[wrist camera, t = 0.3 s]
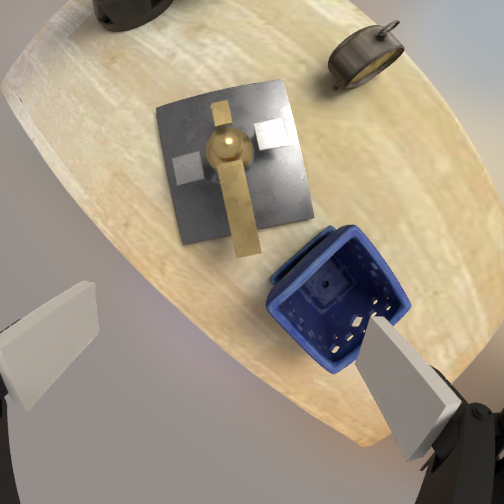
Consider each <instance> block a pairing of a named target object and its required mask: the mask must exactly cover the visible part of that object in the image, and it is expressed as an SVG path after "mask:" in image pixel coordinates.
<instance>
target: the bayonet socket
mask: <svg viewBox="0 0 504 504" xmlns="http://www.w3.org/2000/svg"><path fill="white" fill-rule="evenodd" d="M224 100H228V104H229V109H230V113H231V118H232V123H233V125H228V126H224V127H229V128H235V129H238V130H241V131H242V132H244V133H245V134H246V135H247V136H248V137H249V139H250V141H251V143H252V147H253V154H252V159H251V162H250V163H249V165H248V166H247V167H246V168H245V169H244V171H245V175H246V180H247V185H248V189H249V194H250V199H251V204H252V208H253V213H254V218H255V223H256V228H257V229H261V228H266V227H271V226H276V225H281V224H286V223H291V222H296V221H301V220H306V219H311V218H314V213H313V208H312V202H311V197H310V192H309V187H308V182H307V177H306V172H305V167H304V163H303V158H302V153H301V149H300V145H299V140H298V136H297V132H296V128H295V123H294V119H293V115H292V111H291V108H290V104H289V100H288V96H287V92H286V89H285V85H284V82H283V79H280V80H273V81H266V82H259V83H253V84H247V85H242V86H237V87H232V88H227V89H222V90H218V91H214V92H209V93H205V94H201V95H197V96H194V97H190V98H186V99H183V100H179V101H176V102H173V103H169V104H166V105H163V106H160V107H157V108H156V111H157V118H158V124H159V130H160V136H161V142H162V148H163V153H164V158H165V164H166V169H167V174H168V179H169V184H170V189H171V193H172V198H173V203H174V207H175V212H176V216H177V221H178V225H179V229H180V233H181V237H182V242H183V245H186V244H190V243H195V242H199V241H204V240H209V239H213V238H218V237H223V236H227V235H232V234H231V230H230V225H229V221H228V216H227V212H226V207H225V202H224V198H223V193H222V188H221V184H220V179H219V174H218V171H217V170H216V169H214V168H213V167H212V166H211V165H210V164H209V162H208V160H207V157H206V145H207V142H208V140H209V138H210V136H211V135H212V133H213V132H214V131H215V130H217V129H219V128H222V127H219V128H216V127H215V122H214V117H213V112H212V108H211V103H216V102H220V101H224Z"/></svg>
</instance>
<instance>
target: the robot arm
mask: <svg viewBox="0 0 504 504" xmlns="http://www.w3.org/2000/svg"><path fill="white" fill-rule="evenodd" d="M92 2H93V6H94V10H95V14H96V18H97V20H98V22H99V23H100V24H101V25H102V26H103V27H104V28H106V29H107V30H110V31H125V30H129V29H133V28H136V27H139V26H141V25H143V24H145V23H147V22H149V21H151V20H152V19H154V18H156V17H157V16H158V15H160V14H161V13H162V12H164V11H165V10H166V9H167V8H168V7H169V6H170V4H171V3H172V2H173V0H92ZM99 333H100V332H99V324H98V316H97V305H96V292H95V283H93V282H88V281H83V280H82V281H81V282H79V283H77V284H76V285H74V286H73V287H71V288H69V289H68V290H66V291H64V292H63V293H61V294H59V295H58V296H56V297H55V298H53V299H51V300H50V301H48V302H47V303H45V304H44V305H42V306H40V307H39V308H37V309H36V310H34V311H33V312H31V313H30V314H28V315H27V316H25V317H24V318H22V319H19V320H17V321H16V322H14V323H13V324H12V325H11V326H9V327H7V328H6V329H5V330H4V331H1V332H0V504H20V500H19V496H18V492H17V488H16V483H15V478H14V473H13V468H12V461H11V455H10V446H9V437H8V422H7V403H6V400H5V398H4V396H6V395H7V394H8V393H9V396H10V398H11V399H12V402H13V404H14V405H15V406H17V407H18V408H20V409H22V410H23V411H25V412H27V413H28V411H29V410H30V409H31V408H32V407H33V405H34V404H35V403H36V402H37V401H38V399H39V398H40V397H41V396H42V395H43V394H44V393H45V391H46V390H47V389H48V388H49V387H50V385H52V384H53V382H54V381H55V380H56V379H57V378H58V377H59V376H60V375H61V374H62V372H63V371H64V370H65V369H66V368H67V367H68V366H69V365H70V364H71V363H72V361H73V360H74V359H75V358H76V357H77V356H78V355H79V354H80V353H81V352H82V351H83V350H84V349H85V347H87V346H88V344H89V343H90V342H91V341H92V340H93V339H94V338H95V337H96V336H97V335H98V334H99ZM355 365H356V367H357V369H358V370H359V372H360V374H361V376H362V378H363V379H364V381H365V383H366V385H367V387H368V389H369V390H370V392H371V394H372V396H373V398H374V400H375V401H376V403H377V405H378V407H379V409H380V411H381V413H382V414H383V416H384V418H385V420H386V422H387V424H388V426H389V428H390V430H391V432H392V433H393V435H394V437H395V439H396V441H397V443H398V445H399V447H400V449H401V451H402V453H403V455H404V457H405V459H406V461H411V460H414V459H417V458H421V457H423V456H424V455H425V454H426V452H427V451H428V450H429V449H430V447H431V446H432V448H433V449H434V451H435V452H434V453H433V454H432V456H431V457H430V458H429V459H428V461H427V462H426V463H425V464H424V465H423V466H422V468H421V469H420V470H421V471H423V470H424V469H425V468H426V467H427V466H428V468H427V471H426V475H425V478H424V480H423V483H422V486H421V489H420V492H419V494H418V497H417V500H416V502H415V504H504V457H503V458H502V459H501V460H500V458H499V454H500V453H501V452H502V451H503V450H504V408H503V409H502V411H501V412H500V413H492V411H491V410H490V409H489V408H488V407H486V406H485V405H483V404H481V403H471V404H468V403H467V401H466V400H465V399H464V398H463V397H462V396H461V395H460V393H459V392H458V391H457V390H456V389H455V388H454V387H453V386H452V385H451V383H450V382H449V381H448V380H447V379H445V377H444V376H443V375H442V373H441V372H440V371H439V370H437V369H436V368H434V367H432V366H431V365H429V364H428V363H427V362H426V361H425V360H424V359H423V357H422V356H421V355H420V354H419V353H418V352H417V351H416V350H415V349H414V348H413V347H412V346H411V345H410V344H409V342H408V341H407V340H406V339H405V338H404V337H403V336H402V335H401V334H400V333H399V332H398V331H397V330H396V329H395V328H394V327H393V326H392V325H391V324H390V323H389V322H388V321H387V320H386V319H385V318H384V317H377V316H370V319H369V323H368V326H367V329H366V333H365V336H364V339H363V342H362V345H361V348H360V351H359V354H358V357H357V360H356V363H355Z"/></svg>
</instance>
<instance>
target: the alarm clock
mask: <svg viewBox="0 0 504 504" xmlns="http://www.w3.org/2000/svg"><path fill="white" fill-rule="evenodd" d="M395 23H396V24H395ZM399 23H400V21H399V20H396V21H393V22H392V23H390V24H388V25H387V26H385V27H383V26H379V25H373V26H368V27H365V28H363V29H361V30H358V31H357V32H355V33H353V34H352V35H350V36H349V37H348V38H346V39H345V40H344V41H343V42H342V43H340V44H339V45H338V46H337V48H336V49H335V50H334V51H333V53H332V54H331V56H330V58H329V61H328V68H329V70H330V71H331V72H332V73H333V75H334V76H335V77H336V78H337V79H338V80H339V82H338V83H337V85H336V86H334V87H333V89H334V90H337V88H338V87H340V86H341V85H343V86H344V87H345V88H346V89H352V88H355V87H357V86H359V85H361V84H363V83H365V82H366V81H368V80H370V79H371V78H373V77H374V76H376V75H377V74H379V73H380V72H382V71H383V70H384V69H386V68H387V67H388V66H390V65H391V64H392V63H393V62H394V61H396V60H397V59H398V58H399V57H400V56H401V54H402V53H403V52H404V46H403V45H402V44H401V43H400V42H399V41H398V40H397V39H396V38H395V37H394V36H393V35H392V34H391V33H390V32H389V31H391V30H392V29H394V28H395V27H396V26H397V25H398V24H399ZM393 24H395V25H394V26H392V27H391V28H390V29H389V30H388V29H387V28H388V27H390V26H391V25H393Z"/></svg>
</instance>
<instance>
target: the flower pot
mask: <svg viewBox="0 0 504 504" xmlns="http://www.w3.org/2000/svg"><path fill="white" fill-rule="evenodd" d="M270 282H271V283H272V285H273V286H274V288H273V289H272V290H271V291H270V293H269V295H268V297H267V301H266V309H267V311H268V312H269V313H270V315H271V316H272V317H273V318H274V319H275V320H276V321H277V322H278V323H279V324H280V325H281V327H282V328H283V329H284V330H285V331H286V332H287V333H288V334H289V335H290V336H291V337H292V338H293V339H294V340H295V341H296V342H297V343H298V344H299V345H300V346H301V347H302V348H303V349H304V350H305V351H306V352H307V353H308V354H309V355H310V356H311V357H312V358H313V359H314V360H315V361H316V362H317V363H318V364H320V365H321V366H322V367H323V368H324V369H326V370H327V371H328V372H330V373H332V374H336V373H338V372H339V371H341V370H342V369H344V368H345V367H347V366H348V365H349V364H351V363H352V362H353V361H355V360H356V359H357V357H358V354H359V351H360V348H361V345H362V342H363V339H364V336H365V333H366V329H367V326H368V323H369V319H370V316H371V315H372V314H373V313H374V312H377V314H376V315H375V316H377V317H384V318H385V319H386V320H387V321H388V322H389V323H390V324H391V325H392V326H394V325H395V324H396V323H397V322H398V321H399V320H400V319H401V318H402V317H403V316H404V315H405V314H406V313H407V312H408V311H409V310H410V308H411V303H410V301H409V299H408V297H407V295H406V294H405V292H404V290H403V288H402V287H401V285H400V283H399V282H398V280H397V278H396V277H395V275H394V274H393V272H392V270H391V269H390V267H389V266H388V264H387V263H386V262H385V260H384V259H383V257H382V256H381V255H380V253H379V252H378V251H377V249H376V248H375V247H374V245H373V244H372V243H371V242H370V240H369V239H368V238H367V237H366V235H365V234H364V233H363V232H362V231H361V230H360V229H359V228H358V227H357V226H356V225H346V226H342V227H340V228H338V229H337V230H336V229H335V228H334V227H333V226H331V225H330V226H328V227H327V228H325V229H324V230H323V231H322V232H321V233H320V234H319V235H317V236H316V237H315V238H314V239H313V240H312V241H311V242H309V243H308V244H307V245H306V246H305V247H304V248H303V249H301V250H300V251H299V252H298V253H297V254H296V255H295V256H294V257H293V258H291V259H290V260H289V261H288V262H287V263H286V264H284V265H283V266H282V267H281V268H280V269H279V270H278V271H277V272H276V273H275V274H273V276H272V277H271V278H270ZM387 298H388V299H387ZM375 300H377V303H376V304H373V302H374V301H375ZM389 306H391V308H390V309H389V310H386V309H387V308H388V307H389ZM356 317H363V318H362V321H361V323H360V325H359V326H357V327H353V326H352V324H353V321H354V320H355V318H356ZM364 330H365V332H364V333H363V331H364ZM308 333H309V334H310V336H311V337H310V336H309V334H308ZM351 335H353V337H352V338H351V339H350V340H349V341H347V339H348V338H349V337H350V336H351ZM336 337H338V338H336ZM311 338H312V339H311ZM335 338H336V339H335ZM335 346H339V347H340V348H339V349H338V350H337V352H336V353H332V352H331V351H332V350H333V349H334V348H335Z"/></svg>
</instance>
